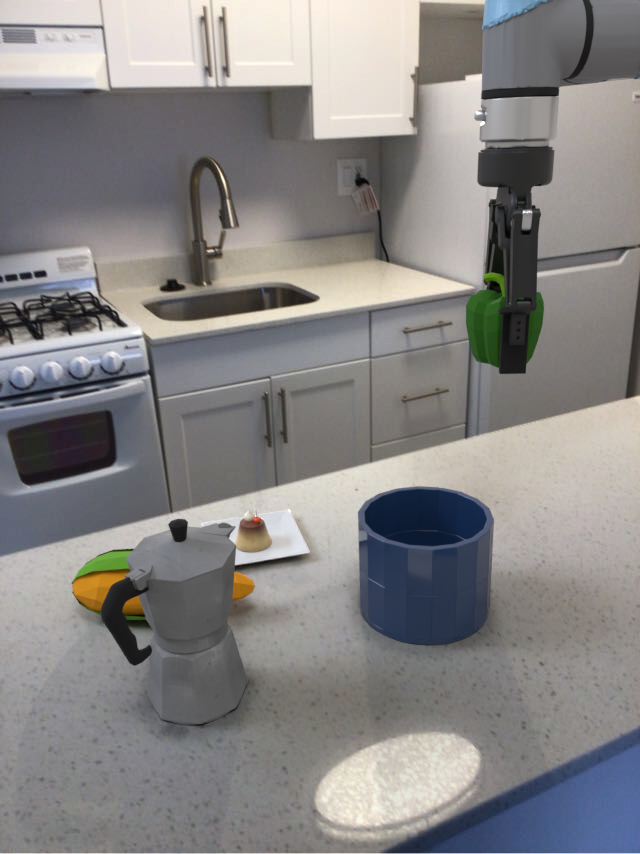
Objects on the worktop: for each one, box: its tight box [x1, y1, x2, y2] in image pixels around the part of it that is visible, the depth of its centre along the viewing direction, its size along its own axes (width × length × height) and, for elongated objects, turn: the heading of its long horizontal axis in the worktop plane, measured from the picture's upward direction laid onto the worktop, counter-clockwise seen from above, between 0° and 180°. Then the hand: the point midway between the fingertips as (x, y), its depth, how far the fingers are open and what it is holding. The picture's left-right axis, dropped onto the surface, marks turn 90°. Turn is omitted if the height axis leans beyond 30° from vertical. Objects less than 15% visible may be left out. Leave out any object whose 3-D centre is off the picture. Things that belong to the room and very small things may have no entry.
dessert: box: [200, 508, 311, 567], centre depth 95 cm, size 12×12×5 cm
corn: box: [70, 548, 256, 621], centre depth 82 cm, size 7×8×20 cm
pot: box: [357, 485, 495, 646], centre depth 80 cm, size 14×14×11 cm
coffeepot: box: [100, 518, 249, 726], centre depth 67 cm, size 15×9×18 cm, turn 145°
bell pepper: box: [465, 273, 545, 369], centre depth 83 cm, size 8×8×10 cm
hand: (504, 361), depth 85 cm, fingers closed on bell pepper, 8 cm apart
